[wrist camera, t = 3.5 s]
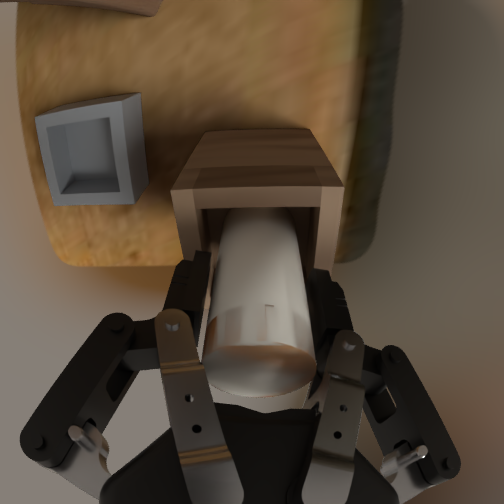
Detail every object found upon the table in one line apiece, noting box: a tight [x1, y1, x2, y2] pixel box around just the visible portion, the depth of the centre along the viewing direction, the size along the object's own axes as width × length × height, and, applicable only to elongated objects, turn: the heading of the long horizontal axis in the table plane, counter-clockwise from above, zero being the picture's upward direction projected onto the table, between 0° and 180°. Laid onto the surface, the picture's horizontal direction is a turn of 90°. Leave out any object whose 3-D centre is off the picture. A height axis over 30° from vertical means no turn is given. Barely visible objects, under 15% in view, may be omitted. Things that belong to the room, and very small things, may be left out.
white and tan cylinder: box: [201, 207, 317, 398], centre depth 13 cm, size 4×4×9 cm
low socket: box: [35, 93, 149, 206], centre depth 20 cm, size 8×8×4 cm
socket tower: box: [170, 129, 344, 309], centre depth 19 cm, size 8×8×10 cm
